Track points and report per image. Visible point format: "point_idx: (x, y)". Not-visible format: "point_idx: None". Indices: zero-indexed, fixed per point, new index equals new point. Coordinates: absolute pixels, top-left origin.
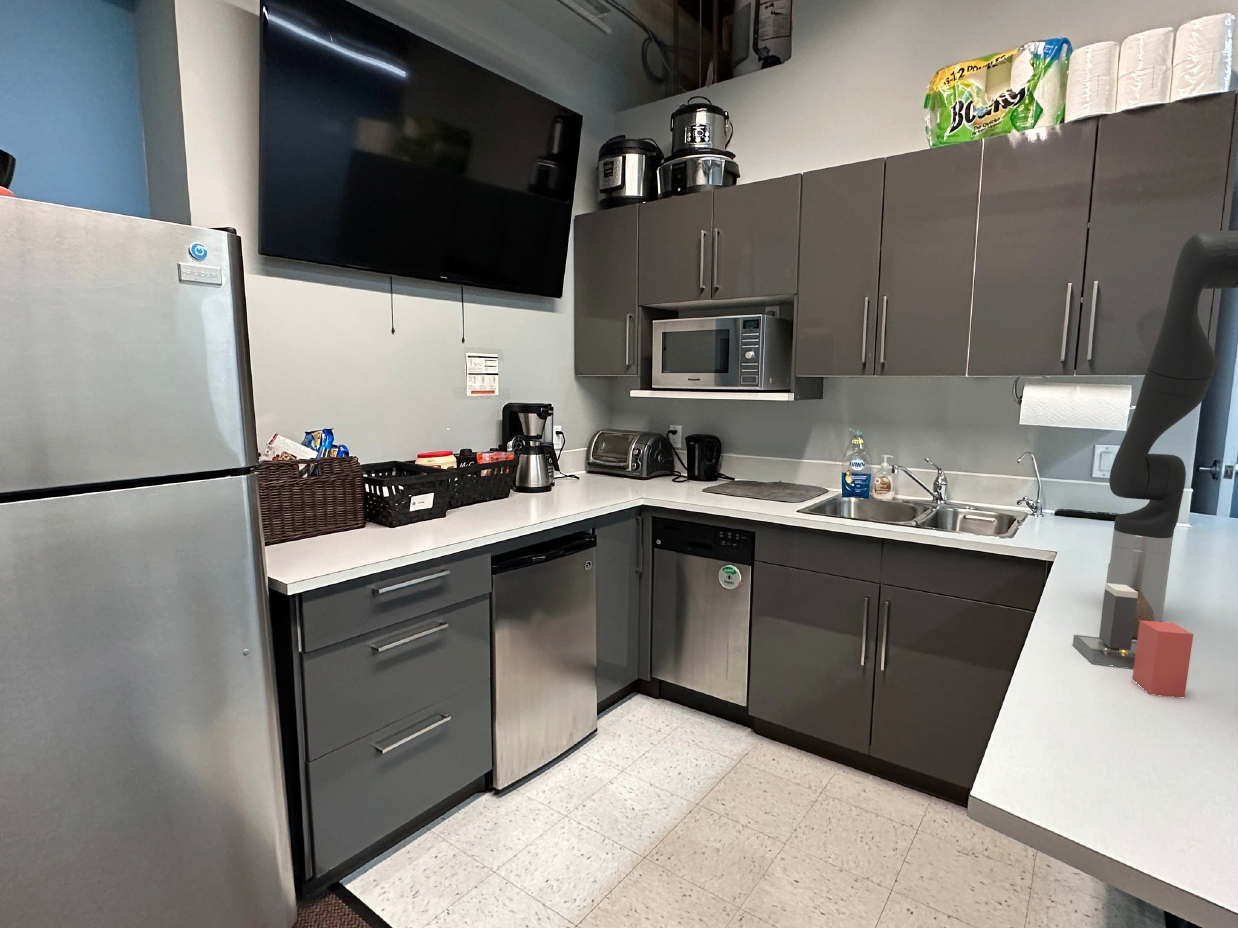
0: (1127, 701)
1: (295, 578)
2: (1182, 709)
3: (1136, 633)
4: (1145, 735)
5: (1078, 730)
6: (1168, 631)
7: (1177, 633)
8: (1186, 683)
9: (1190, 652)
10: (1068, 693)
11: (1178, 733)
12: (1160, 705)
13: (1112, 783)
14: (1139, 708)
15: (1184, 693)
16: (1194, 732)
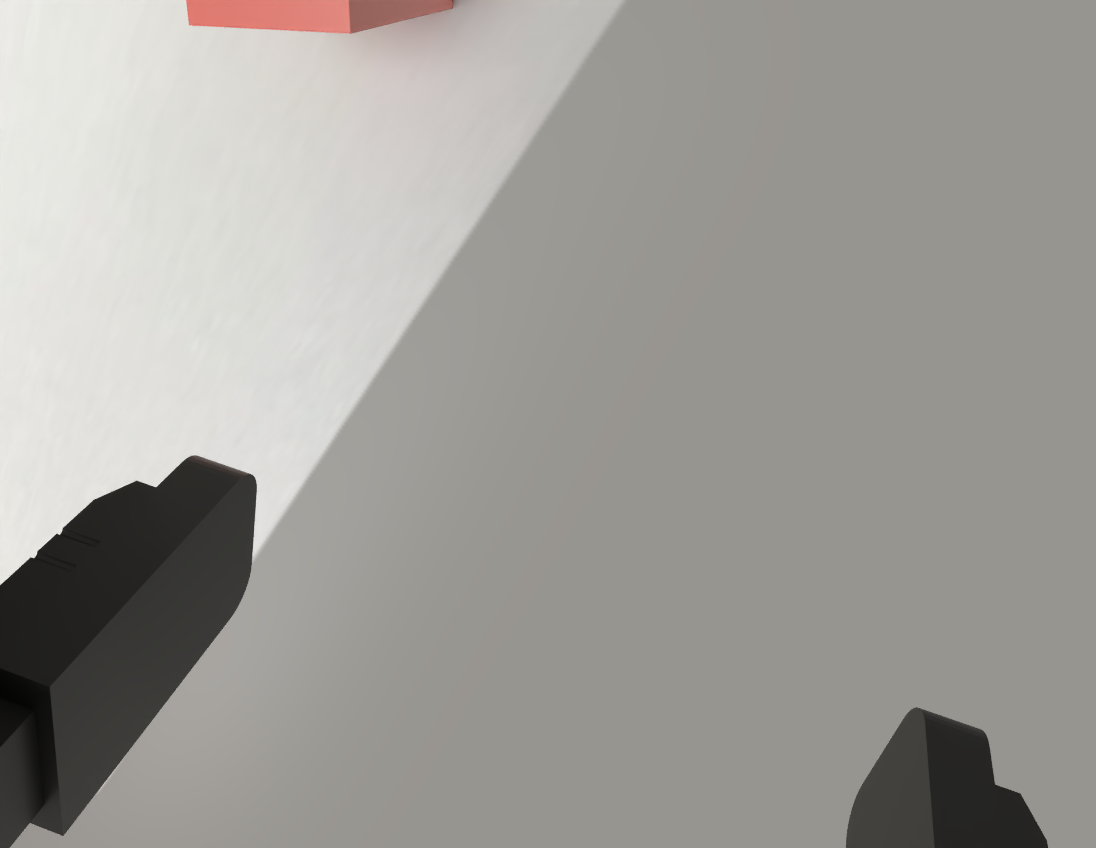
0: (216, 90)
1: None
2: (385, 122)
3: None
4: (176, 331)
5: (3, 329)
6: (240, 15)
7: (278, 29)
8: (434, 11)
9: (385, 23)
10: (32, 61)
11: (278, 305)
12: (321, 102)
13: (17, 553)
14: (235, 144)
15: (445, 8)
16: (331, 291)
